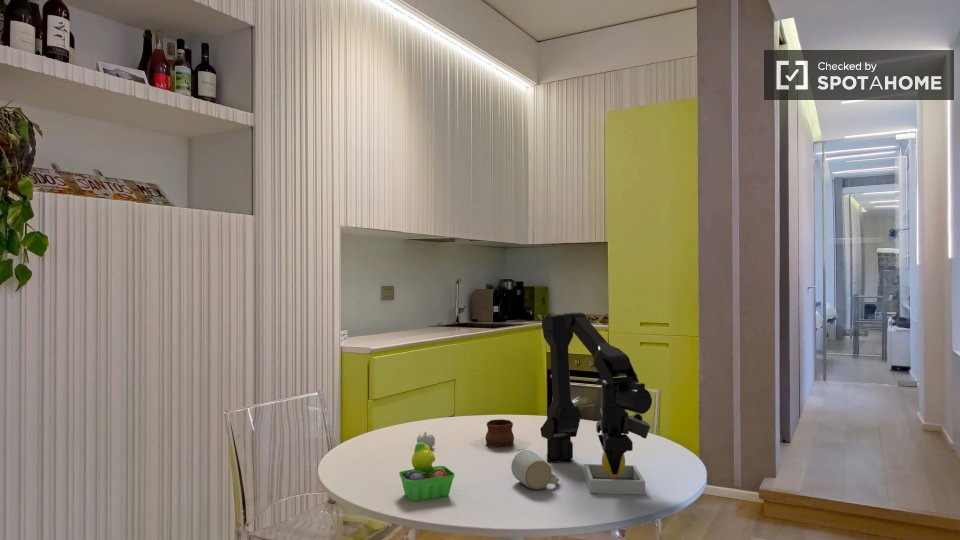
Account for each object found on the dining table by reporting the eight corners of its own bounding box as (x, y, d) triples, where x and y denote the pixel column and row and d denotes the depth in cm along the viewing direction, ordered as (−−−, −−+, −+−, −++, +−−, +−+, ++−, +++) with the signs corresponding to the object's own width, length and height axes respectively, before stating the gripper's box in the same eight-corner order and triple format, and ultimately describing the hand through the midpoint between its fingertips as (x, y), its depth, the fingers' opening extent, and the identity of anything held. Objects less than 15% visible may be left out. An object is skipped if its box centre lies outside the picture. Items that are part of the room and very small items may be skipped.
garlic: (429, 452, 178) (429, 433, 178) (412, 450, 180) (412, 432, 180) (438, 447, 184) (438, 429, 184) (422, 445, 186) (422, 427, 186)
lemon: (625, 482, 147) (625, 448, 147) (601, 480, 148) (601, 447, 148) (624, 475, 153) (625, 442, 153) (601, 473, 154) (601, 441, 154)
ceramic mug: (526, 493, 144) (526, 459, 144) (510, 482, 152) (511, 450, 152) (565, 488, 148) (566, 455, 149) (548, 477, 156) (549, 447, 156)
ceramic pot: (541, 446, 185) (541, 422, 185) (494, 457, 174) (493, 431, 175) (504, 435, 199) (504, 413, 200) (458, 444, 189) (457, 421, 189)
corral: (589, 493, 144) (589, 480, 145) (584, 475, 157) (584, 463, 157) (645, 494, 144) (645, 481, 144) (635, 477, 156) (635, 465, 156)
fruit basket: (407, 504, 137) (407, 452, 137) (396, 491, 145) (396, 442, 145) (455, 497, 142) (456, 447, 142) (442, 485, 150) (442, 438, 150)
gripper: (655, 414, 141) (655, 484, 141) (640, 398, 159) (640, 459, 159) (605, 413, 142) (605, 482, 141) (596, 397, 160) (595, 458, 160)
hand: (613, 470), depth 150 cm, fingers closed on lemon, 5 cm apart
